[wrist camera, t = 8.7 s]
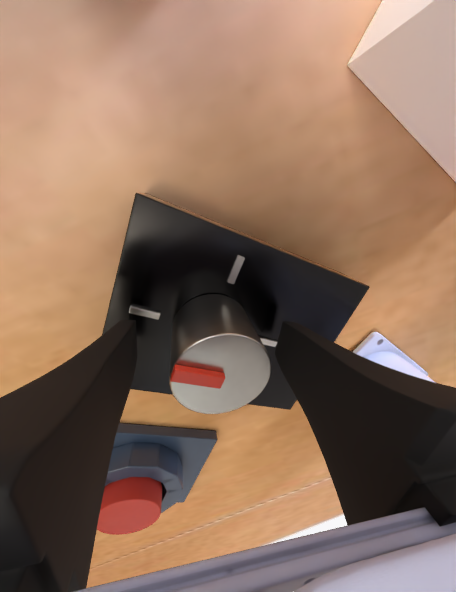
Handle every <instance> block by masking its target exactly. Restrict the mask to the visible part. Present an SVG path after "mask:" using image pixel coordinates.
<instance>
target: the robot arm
mask: <svg viewBox="0 0 456 592" xmlns="http://www.w3.org/2000/svg"><path fill="white" fill-rule="evenodd" d="M275 356H276V359H277V361H278V364H279V366H280V369H281V371H282V373H283V375H284V377H285V378H286V380H287V382H288V384H289V386H290V387H291V389H292V391H293V393H294V395H295V396H296V398H297V400H298V402H299V403H300V405H301V407H302V409H303V411H304V413H305V415H306V417H307V419H308V421H309V423H310V425H311V428H312V430H313V432H314V435H315V437H316V439H317V442H318V444H319V447H320V449H321V452H322V454H323V456H324V459H325V461H326V464H327V467H328V470H329V472H330V475H331V478H332V480H333V483H334V486H335V489H336V491H337V494H338V497H339V500H340V503H341V507H342V510H343V513H344V516H345V519H346V521H347V525H348V526H344V527H340V528H336V529H332V530H327V531H323V532H319V533H315V534H311V535H307V536H303V537H298V538H294V539H290V540H286V541H282V542H277V543H273V544H269V545H265V546H261V547H257V548H252V549H248V550H244V551H240V552H236V553H232V554H227V555H223V556H219V557H215V558H211V559H207V560H202V561H198V562H194V563H190V564H186V565H182V566H178V567H173V568H169V569H165V570H161V571H157V572H153V573H148V574H144V575H140V576H136V577H132V578H128V579H123V580H119V581H115V582H111V583H107V584H103V585H98V586H94V587H90V588H86V586H87V580H88V575H89V569H90V563H91V558H92V552H93V546H94V541H95V535H96V530H97V525H98V519H99V514H100V509H101V504H102V498H103V493H104V488H105V483H106V479H107V474H108V469H109V464H110V459H111V454H112V450H113V445H114V441H115V436H116V433H117V429H118V425H119V422H120V419H121V416H122V413H123V410H124V406H125V403H126V400H127V397H128V394H129V391H130V388H131V384H132V381H133V378H134V373H135V368H136V362H137V338H136V320H121V321H119V322H118V323H117V324H116V325H114V326H113V327H112V328H111V329H109V330H108V331H107V332H106V333H105V334H103V335H102V336H101V337H100V338H98V339H97V340H96V341H95V342H93V343H92V344H91V345H89V346H88V347H87V348H85V349H84V350H82V351H81V352H80V353H78V354H77V355H75V356H74V357H73V358H71V359H70V360H68V361H67V362H65V363H63V364H62V365H60V366H59V367H57V368H55V369H54V370H52V371H50V372H49V373H47V374H45V375H43V376H42V377H40V378H38V379H36V380H34V381H32V382H30V383H29V384H27V385H25V386H23V387H21V388H19V389H17V390H15V391H13V392H11V393H9V394H7V395H5V396H3V397H1V398H0V592H293V591H294V592H456V388H454V387H450V386H446V385H442V384H438V383H436V382H434V381H433V380H432V379H430V378H429V377H428V373H427V372H426V371H425V370H424V369H422V368H421V367H420V366H419V365H418V364H416V363H415V362H414V361H413V360H411V359H410V358H409V357H408V356H407V355H405V354H404V353H403V352H402V351H401V350H399V349H398V348H397V347H396V346H394V345H393V344H392V343H391V342H390V341H388V340H387V339H386V338H385V337H383V336H382V335H381V334H380V333H378V332H373V333H371V334H370V335H369V336H368V337H367V338H366V339H365V340H364V341H363V342H362V343H361V344H360V345H359V346H358V347H357V348H356V349H355V350H354V351H353V352H351V351H349V350H347V349H345V348H343V347H341V346H339V345H337V344H335V343H333V342H332V341H330V340H328V339H326V338H324V337H322V336H321V335H319V334H317V333H315V332H313V331H312V330H310V329H308V328H306V327H304V326H302V325H300V324H298V323H296V322H288V321H283V322H282V326H281V330H280V334H279V338H278V342H277V346H276V350H275Z"/></svg>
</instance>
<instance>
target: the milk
mask: <svg viewBox="0 0 456 592" xmlns="http://www.w3.org/2000/svg"><path fill="white" fill-rule="evenodd" d="M347 66H348V67H349V68H350V69H351V70H352V71H353V72H354V73H355V74H356V76H357V77H358V78H359V79H360V80H361V81H362V82H363V83H364V84H365V85H366V86H367V87H368V88H369V90H370V91H371V92H372V93H373V94H374V95H375V96H376V97H377V98H378V99H379V100H380V101H381V103H382V104H383V105H384V106H385V107H386V108H387V109H388V110H389V111H390V112H391V113H392V114H393V115H394V117H395V118H396V119H397V120H398V121H399V122H400V123H401V124H402V125H403V126H404V127H405V128H406V129H407V131H408V132H409V133H410V134H411V135H412V136H413V137H414V138H415V139H416V140H417V141H418V142H419V143H420V145H421V146H422V147H423V148H424V149H425V150H426V151H427V152H428V153H429V154H430V155H431V156H432V157H433V159H434V160H435V161H436V162H437V163H438V164H439V165H440V166H441V167H442V168H443V169H444V170H445V171H446V173H447V174H448V175H449V176H450V177H451V178H452V179H453V180H454V181H455V182H456V0H382V2H381V4H380V6H379V7H378V9H377V11H376V13H375V15H374V17H373V18H372V20H371V22H370V24H369V26H368V28H367V29H366V31H365V33H364V35H363V37H362V39H361V40H360V42H359V44H358V46H357V48H356V50H355V51H354V53H353V55H352V57H351V59H350V61H349V62H348V64H347Z"/></svg>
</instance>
